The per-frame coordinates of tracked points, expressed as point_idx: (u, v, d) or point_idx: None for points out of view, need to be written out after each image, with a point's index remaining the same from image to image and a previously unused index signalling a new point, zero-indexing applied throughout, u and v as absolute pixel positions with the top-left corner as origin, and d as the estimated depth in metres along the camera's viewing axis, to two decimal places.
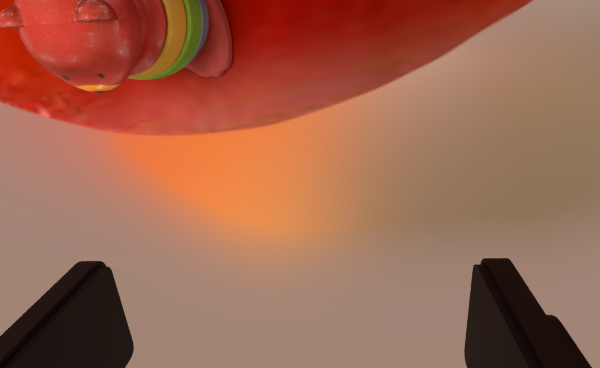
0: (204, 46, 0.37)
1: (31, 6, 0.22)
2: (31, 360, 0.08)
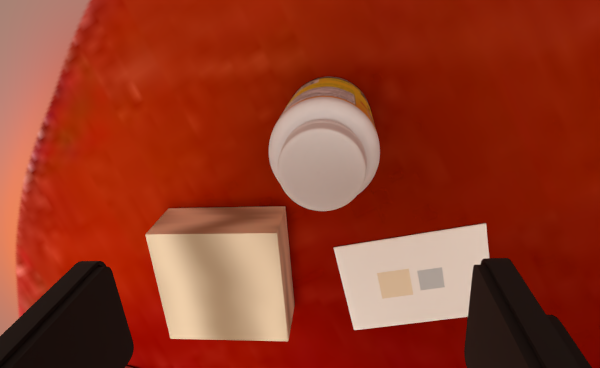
0: None
1: None
2: (30, 360, 0.08)
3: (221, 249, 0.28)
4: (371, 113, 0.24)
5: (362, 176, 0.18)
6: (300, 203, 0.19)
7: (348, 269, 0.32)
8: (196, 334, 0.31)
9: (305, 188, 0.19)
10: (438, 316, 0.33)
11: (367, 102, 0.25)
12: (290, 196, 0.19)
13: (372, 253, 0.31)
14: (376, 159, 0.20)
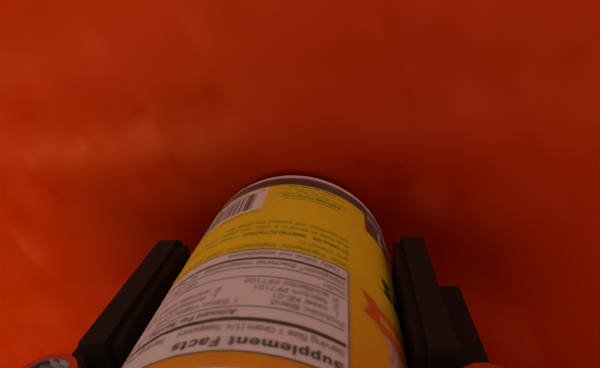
0: None
1: None
2: (138, 324, 0.09)
3: None
4: (392, 290, 0.10)
5: None
6: None
7: None
8: None
9: None
10: None
11: (380, 244, 0.11)
12: None
13: None
14: None
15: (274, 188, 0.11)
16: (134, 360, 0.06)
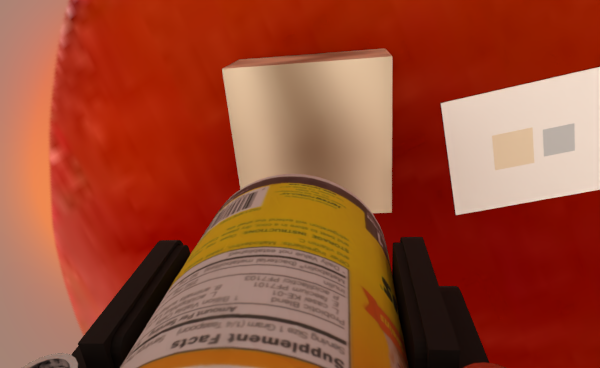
0: None
1: None
2: (139, 324, 0.09)
3: (318, 85, 0.22)
4: (392, 288, 0.10)
5: None
6: None
7: (456, 133, 0.27)
8: None
9: None
10: (561, 191, 0.27)
11: (380, 242, 0.11)
12: None
13: (488, 109, 0.26)
14: None
15: (274, 186, 0.11)
16: (134, 357, 0.06)
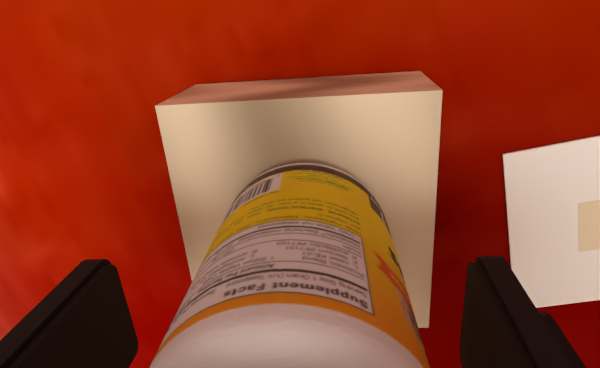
0: None
1: None
2: (38, 357, 0.08)
3: (315, 134, 0.13)
4: (396, 257, 0.11)
5: None
6: None
7: (523, 197, 0.18)
8: None
9: None
10: None
11: (383, 220, 0.12)
12: None
13: (576, 165, 0.17)
14: None
15: (288, 173, 0.12)
16: (189, 309, 0.08)
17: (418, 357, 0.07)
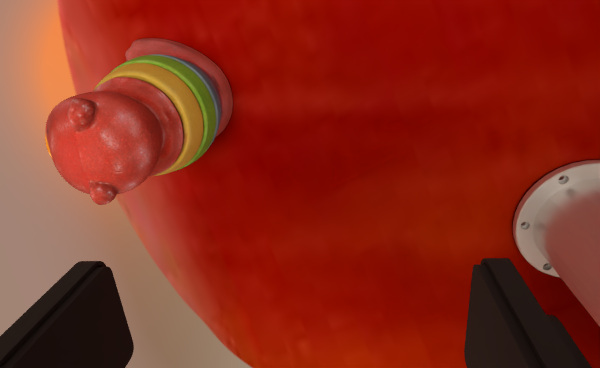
0: None
1: (92, 145, 0.24)
2: (31, 360, 0.08)
3: None
4: None
5: None
6: None
7: None
8: None
9: None
10: None
11: None
12: None
13: None
14: None
15: None
16: None
17: None
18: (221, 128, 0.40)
